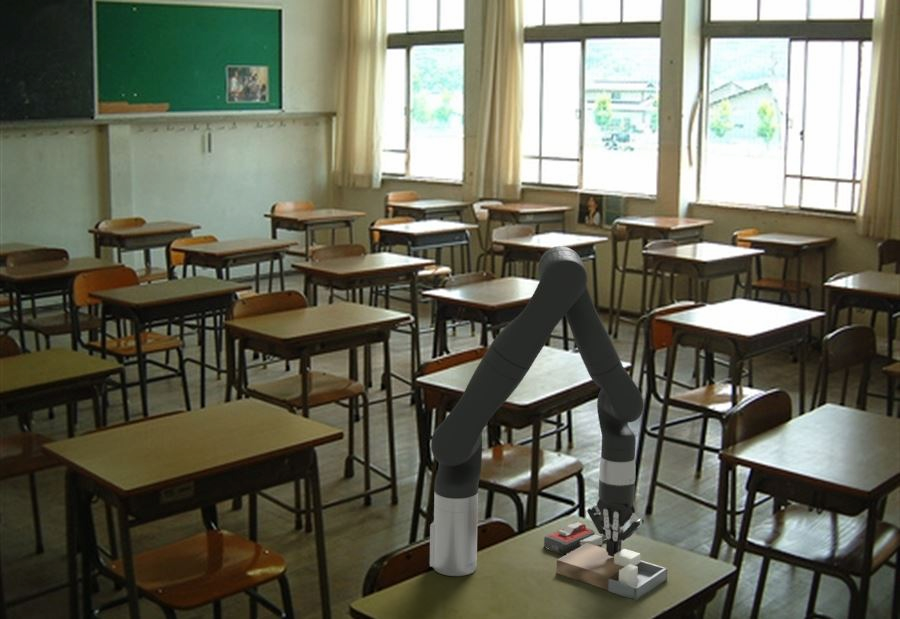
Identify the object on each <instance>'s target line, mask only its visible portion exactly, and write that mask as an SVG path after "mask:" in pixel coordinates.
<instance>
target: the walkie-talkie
mask: <svg viewBox="0 0 900 619" xmlns="http://www.w3.org/2000/svg"><path fill="white" fill-rule="evenodd" d="M543 539H544V540H543V547H547V548H549V549H552V550H554V551H556V552H555V553H557V552H558V553H557V554H559V553H561V554H560V555H562V554H567V553H570V552H571V551H574V550H575V549H577V548H579V547H581V546H582V545H584V544H586V543H589V544H592V545H595V546H599V547H600V546H601V545H603V541H604V540H607V538H606V536H605V535H603V534H599V535H598V534H595V531H594V529H591V528H588V527H587V526H586V524H585V523H582V522H578V521H575V522H572V523H569V524H568V525H566V526H565V528H561V529H560V530H558V531H555V532H552V533H550V534H548V535H546V536H544V537H543ZM549 549H548V550H549ZM554 551H553V552H554Z"/></svg>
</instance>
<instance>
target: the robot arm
mask: <svg viewBox="0 0 900 619" xmlns="http://www.w3.org/2000/svg"><path fill="white" fill-rule="evenodd" d="M537 273H538V274H537V275H538V280H539V281H538V284H537V286H536V289H535V290H534V292H533V294H532V295H531V297H530V299H529V300H528V302H527V305H525V308H523V310H522V311H521V312H520V314H518V316H516V317H515V318H514V319H513V320H512V321H511V322H510V323H509V322H508V324H507V325H506V326H505V327H504V328H503V329H501V331H500V332H499V333H498V334H497V335H496V337H495V338H494V340H492V342H491V344H490V345H489V346H488V348H487V350H486V352H485V353H484V355H483V356H482V358H481V360H480V362H479V364H478V365H477V367H476V368H475V370H474V372H473V374H472V376H471V378H470V379H469V382H468V384H467V385H466V388H465V389H464V392H463V393H462V396H461V397H460V399H459V400H458V401H457V403H456V404H455V406H454V407H453V409H452V410H451V411H450V412H449V414H448V415H447V416H446V417H445V419H443V420H442V422H441V423H440V424H439V425H438V426H437V428H436V429H435V430H434V432H433V433H432V436H431V440H430V441H431V442H430V448H431V453H432V456H433V457H434V459H435V460H436V462H438V469H437V471H436V475H435V478H434V488H433V489H434V492H433V493H434V497H433V498H434V500H433V501H434V502H433V504H434V507H433V508H434V510H433V511H434V512H433V517H434V518H433V522H431V524H430V525H429V535H430V536H429V567H430V568H431V567H432V568H433V569H434V571H435V572H437V573H439V574H441V575H444V576H449V577H462V576H466V575H467V576H468V575H470V574H473V573H474V572H475V571H476V570H477V563H478V561H477V557H478V554H477V553H478V516H479V515H478V514H479V512H478V508H479V507H478V506H479V482H480V478H481V473H482V462H483V460H482V458H483V434H482V432H483V430H484V429H485V427H486V425H487V424H488V422H489V421H490V419H491V418H492V417H493V416H494V415H495V413H496V412H497V411H498V409H499V408H501V407H502V405H503V404H504V403H506V401H507V399H509V397H510V396H511V395H512V394H513V393H514V392H515V390H516V389H517V388H518V386H520V384H521V382H522V381H523V380H524V378H525V376H526V375H527V373H528V372H529V371H530V369H531V367H532V366H533V364H534V362H535V360H536V359H537V358H538V356H539V354H540V353H541V351H542V350H543V348H544V347H545V345H546V343H547V342H548V339H549V338H550V337H551V334H552V332H554V329H555V328H556V327H557V325H558V324H559V323H560V321H561V320H562V319H563V318H564V317H565V318H566V319H565V320H566V321H567V324H568V326H569V329H570V331H571V333H572V337H573V340H574V342H575V344H576V347H577V350H578V353H579V355H580V358H581V360H582V362H583V365H584V366H585V368H586V371H587V373H588V375H589V377H590V378H591V380H592V381H593V383H595V385H597V386H598V387H600V391H599V393H598V396H597V401H596V405H597V406H596V407H597V408H596V409H597V417H598V422H599V423H598V424H599V428H600V433H601V449H600V452H601V454H600V456H601V457H600V462H599V472H598V493H597V495H598V496H597V497H598V500H597V502H596V505H593V506H591V507H590V508H587V511H586V512H587V514H588V515H589V517H590V519H591V521H592V523H593V525H594V526H595V527H594V528H596V531H598V534H599V535H605V536H606V543H605V544H606V548H605V549H606V551H607V552H608V555H609V556H612V557H614V554H616V553H617V552H619V551H621V550H622V541H623V542H624V541H625V540H627V539H629V538H630V537H631V536H632V535H634V534H635V533H636V531H637V530H638V529H639V528H640V527H641V526H643V524H644V522H645V520H644V519H643V518H640V517H638V516H637V514H636V513H635V512H636V510H635V507H634V501H635V490H636V485H635V484H636V477H637V476H636V468H637V466H636V444H637V443H636V441H637V440H636V434H635V433H634V431H633V430H632V429H631V428H630V427H629V424H630V423H633V422H636V421H637V420H638V419H639V418H640V417H641V415H642V414H643V413H644V412H643V411H644V406H645V405H644V399H643V396H642V393H641V391H640V389H639V387H638V386H637V384H636V383H635V381H634V380H633V378H632V377H631V375H630V374H629V373H628V372H627V369H625V367H624V366H623V362H622V361H621V358H620V357H619V354H618V352H617V349H616V348H615V345H614V343H613V341H612V339H611V336H610V335H609V332H608V331H607V329H606V327H605V325H604V323H603V321H602V319H601V317H600V315H599V313H598V312H597V309H596V307H595V305H594V302H593V300H592V297H591V294H590V292H589V289H588V271H587V269H586V267H585V264H584V262H583V260H582V258H581V257H580V255H579V254H578V253H577V252H576V251H575V250H573V249H571V248H569V247H567V246H560V245H558V246H554V247H551V248H548V250H546V251H545V252H544V253H543V254H542V256H541V257H540V259H539V262H538V267H537ZM629 520H630V521H629ZM628 522H629V525H630V526H628V527H627V528H626V525H627V523H628ZM625 528H626V530H625Z"/></svg>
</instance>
